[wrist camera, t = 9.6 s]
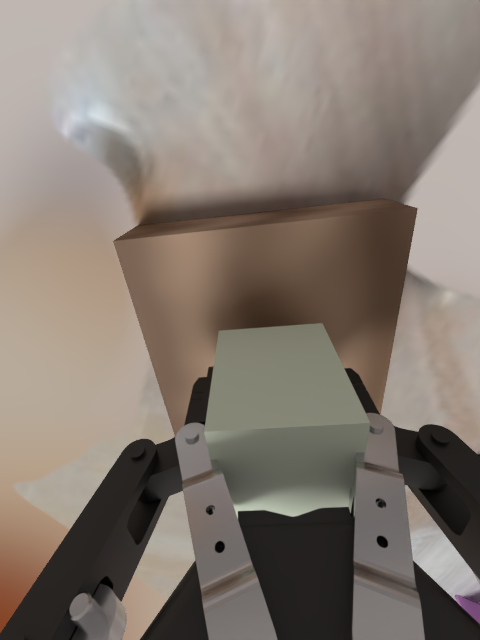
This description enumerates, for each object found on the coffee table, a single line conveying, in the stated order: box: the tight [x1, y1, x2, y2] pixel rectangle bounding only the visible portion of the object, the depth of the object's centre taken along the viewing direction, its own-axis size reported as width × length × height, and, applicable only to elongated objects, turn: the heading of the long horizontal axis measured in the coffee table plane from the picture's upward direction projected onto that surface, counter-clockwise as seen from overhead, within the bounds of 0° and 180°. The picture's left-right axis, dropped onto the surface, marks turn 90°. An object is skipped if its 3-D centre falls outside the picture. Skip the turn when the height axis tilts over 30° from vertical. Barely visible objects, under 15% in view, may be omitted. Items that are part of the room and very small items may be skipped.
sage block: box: [204, 323, 370, 518], centre depth 13 cm, size 5×5×6 cm
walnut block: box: [113, 199, 417, 437], centre depth 18 cm, size 14×14×4 cm
